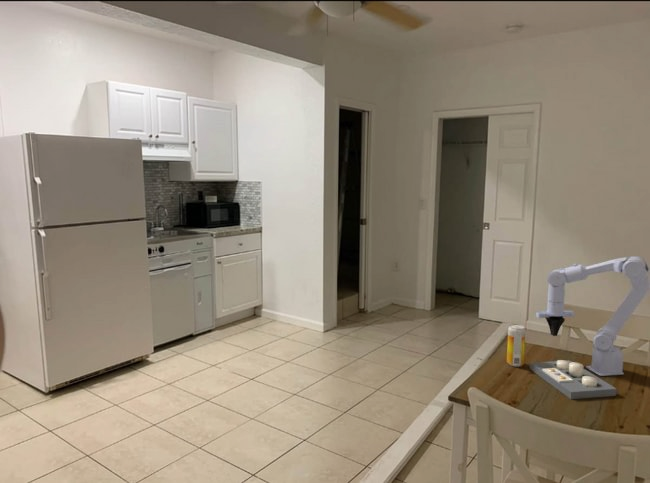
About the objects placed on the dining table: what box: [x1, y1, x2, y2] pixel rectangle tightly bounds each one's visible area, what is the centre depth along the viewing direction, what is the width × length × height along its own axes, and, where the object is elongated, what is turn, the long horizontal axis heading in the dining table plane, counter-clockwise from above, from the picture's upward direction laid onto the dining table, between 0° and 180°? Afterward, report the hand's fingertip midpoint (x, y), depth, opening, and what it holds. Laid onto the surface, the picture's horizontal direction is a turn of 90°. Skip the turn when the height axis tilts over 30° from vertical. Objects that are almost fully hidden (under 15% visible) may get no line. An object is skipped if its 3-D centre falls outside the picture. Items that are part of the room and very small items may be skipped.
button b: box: [569, 361, 585, 378], centre depth 163 cm, size 4×4×4 cm
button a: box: [556, 359, 570, 370], centre depth 170 cm, size 4×4×4 cm
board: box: [529, 359, 618, 400], centre depth 163 cm, size 16×24×2 cm, turn 7°
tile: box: [542, 368, 573, 383], centre depth 162 cm, size 5×10×1 cm, turn 7°
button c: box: [582, 376, 597, 387], centre depth 156 cm, size 4×4×4 cm
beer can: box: [506, 324, 526, 368], centre depth 177 cm, size 6×6×15 cm
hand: (553, 335), depth 180 cm, fingers closed
